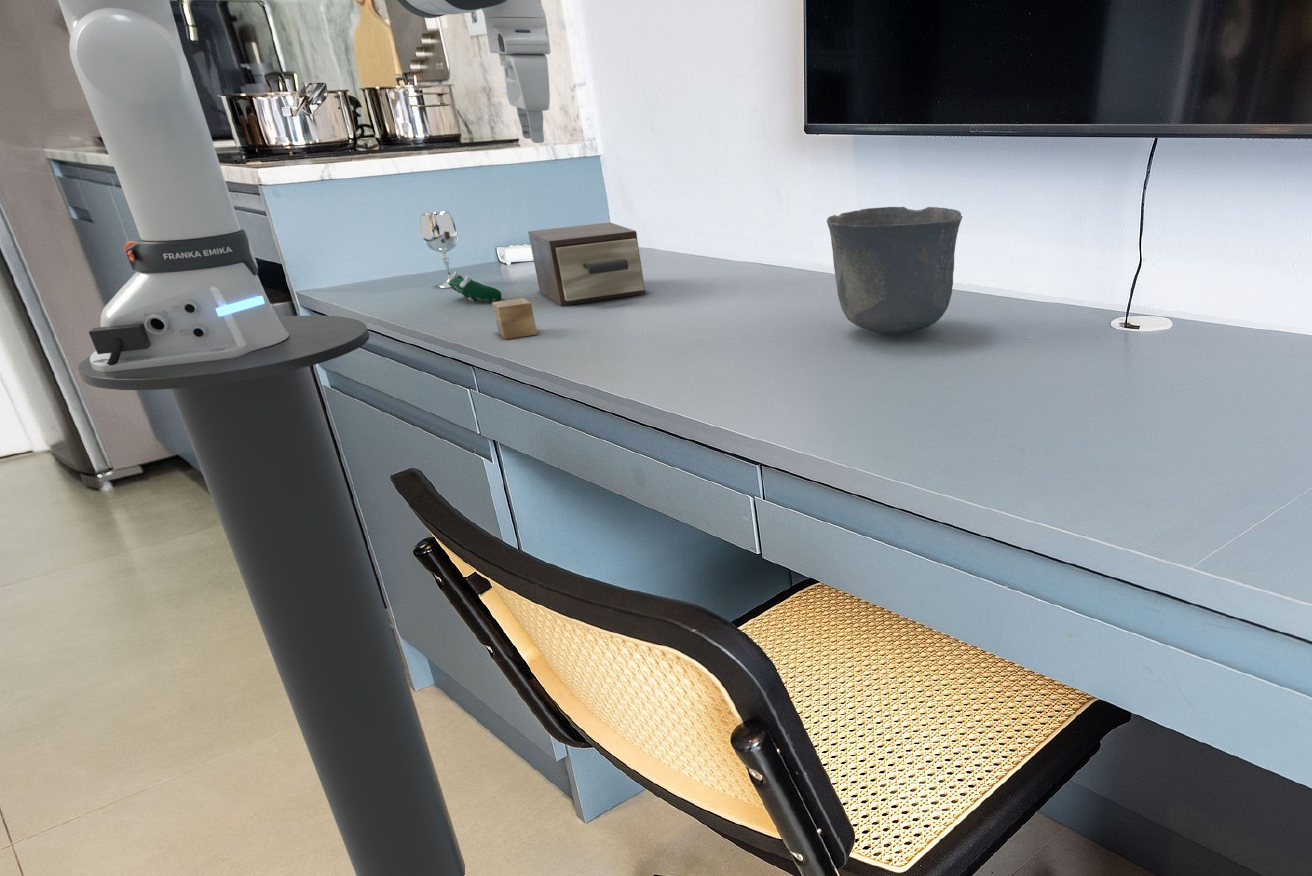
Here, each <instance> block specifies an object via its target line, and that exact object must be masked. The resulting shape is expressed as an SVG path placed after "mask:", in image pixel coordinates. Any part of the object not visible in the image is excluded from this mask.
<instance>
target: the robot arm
mask: <svg viewBox="0 0 1312 876" xmlns="http://www.w3.org/2000/svg"><path fill="white" fill-rule="evenodd" d="M57 2H58V4H59V7H60V10H61V13H62V16H63V19H64V23H65V24H66V28H67V31H68V33H69V36H70V37H69V46H68V47H69V56H70V61H71V63H72V66H73V69H74V72H75V74H76V77H77V79H78V82H79V85H80V87H81V89H82V92H83V94H84V97H85V99H86V102H87V105H88V107H89V109H90V112H91V114H92V118H93V120H94V122H95V125H96V127H97V129H98V130H97V131H98V133H99V134H100V137H101V139H102V142H103V144H104V146H105V149H106V151H107V154H108V156H109V158H110V162H111V163H112V166H113V168H114V170H115V173H116V175H117V178H118V181H119V184H120V186H121V189H122V192H123V194H124V197H125V201H126V202H127V205H128V208H129V210H130V213H131V216H132V219H133V221H134V224H135V227H136V229H137V232H138V234H139V240H137V241H135V240H130V241H128V242H126V243H125V245H124V246H123V251H124V254H125V256H126V257H127V260H128V263H129V265H130V267H131V269H132V271H136V272H135V273H134V274H133V275H132V276H131V277H130V278H129V279H128V280H127V281H126V283H124V284H123V286H122V287H121V288H120V289H119V290H118V291H117V293H115V295H114V296H113V297H112V298H111V299H110V300H109V301H108V303H107V304H106V305H105V306H104V307H103V309H102V311H101V314H100V326H99V327H98V326H97V327H93V328H92V329H91V330H89V331H88V334H89V337H90V339H91V341H92V345H93V347H94V349H95V351H93V353H91V354H90V355H89V357H90V363H91V366H92V368H93V369H94V370H96V371H100V372H112V371H121V370H130V369H140V368H149V367H158V366H167V365H176V364H185V363H194V362H203V361H212V360H221V359H230V358H235V357H239V356H241V355H244V354H246V353H248V352H251V351H254V350H257V349H261V348H264V347H268V346H271V345H274V344H277V343H279V342H281V341H283V340H285V339H287V338H288V337H289V334H288V332H287V331H286V329H285V328H284V326H283V325H282V323H281V322H280V320H279V318H278V317H279V316H278V315H277V313H276V311H275V310H274V307H273V306H272V304H271V302H270V300H269V298H268V296H267V293H266V292H265V289H264V286H263V285H262V283H261V281H260V277H259V275H258V273H259V270H258V269H259V266H258V263H257V259H256V257H255V253H254V249H253V246H252V243H251V241H250V238H248V235H247V233H246V231H245V230H244V229H243V228H241V225H240V223H239V219H238V216H237V213H236V210H235V207H234V204H233V200H232V197H231V194H230V191H229V189H228V185H227V182H226V180H225V175H224V173H223V170H222V167H221V164H220V160H219V157H218V154H217V151H216V148H215V144H214V141H213V138H212V135H211V132H210V128H209V126H208V122H207V120H206V116H205V113H204V110H203V107H202V104H201V101H200V97H199V94H198V91H197V87H196V84H195V81H194V77H193V75H192V72H191V69H190V66H189V63H188V60H187V56H186V54H185V53H184V50H183V45H182V42H181V39H180V34H179V31H178V27H177V24H176V21H175V17H174V13H173V9H172V6H171V2H170V0H57ZM397 2H398V3H399V4H400V5H401V7H403V8H404V9H405V10H407V11H408V12H409V13H411V14H414V15H415V16H418V17H419V18H420V17H421V18H424V19H435V18H440V17H443V16H447V15H460V14H469V13H475V12H476V11H479V10H481V11H482V12H483V17H484V24H485V30H486V36H487V42H488V49H489V53H491V54H498V56H499V62H500V66H503V67H502V68H503V74H504V81H505V89H506V96H507V100H508V103H509V105H510V106H512V107H516V115H517V119H518V122H519V125H520V129H521V135H522V137H523V138H524V139H529V140H531V142H532V143H534V144H542V143H544V142H545V136H544V115H543V114H544V113H543V112H544V111H545V112H546V111H548V110H550V103H551V93H550V75H549V64H548V57H547V55H550V54H551V52H552V51H551V43H550V38H549V31H548V30H549V29H548V23H547V16H546V12H545V10H544V8H543V7H544V6H543V3H542V0H397Z"/></svg>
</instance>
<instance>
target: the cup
mask: <svg viewBox="0 0 1312 876" xmlns="http://www.w3.org/2000/svg"><path fill="white" fill-rule="evenodd" d="M962 219H963V215H962V212H961V211H960V210H958V209H953V208H947V207H937V206H927V207H925V208H922V209H910V208H908V207H905V206H885V207H870V208H863V209H862V208H861V209H859V210H853V211H848V212H847V211H846V212H842V213H840V214H839V215H835V214H833V215H831V216H829V217H827V219H826V224H827V226H828V230H829V235H830V243H831V249H832V250H831V251H832V258H833V269H834V277H835V284H836V290H837V291H836V292H837V298H838V302H839V305H840V309H841V311H842V312H843V314H844V316H845V318H846V320H847V321H849V323H852V325H854V326H856V327H858V328H861V329H863V330H866V331H870V332H874V333H877V334H881V335H890V336H891V335H892V336H894V335H896V336H897V335H906V334H912V333H916V332H919V331H922V330H925V329H927V328H930V327H931V326H933V325H935V324H936V323H937V322H938V321H939V320H940V319H941V318H942V317H943V316H944V314H945V312H947V311H946V310H948V307H949V305H950V301H951V299H952V295H953V287H954V271H955V252H956V244H957V238H958V235H959V234H958V233H959V229H960V225H961V222H962Z"/></svg>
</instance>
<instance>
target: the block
mask: <svg viewBox="0 0 1312 876" xmlns="http://www.w3.org/2000/svg"><path fill="white" fill-rule="evenodd" d="M491 305H492V309H493V313H494V314H493V315H494V319H495V323H496V327H497V332H498V334H499V335H500V336H501V337H502V338H503V339H504V340H511V339H517V338H518V339H519V338H524V337H530V336H535V335H538V331H537V325H536V320H535V316H534V311H533V307H532V303H531V302H530V301H529V300H528V299H526V298H525V297H519V298H513V299H512V298H511V299H506V300H500V301H491Z"/></svg>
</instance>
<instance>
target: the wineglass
mask: <svg viewBox="0 0 1312 876" xmlns="http://www.w3.org/2000/svg"><path fill="white" fill-rule="evenodd" d="M419 216H420V220H419V222H420V233H421V237H422V241H423V243H424V244H425V246H426V247H427V248H428V249H429V250H432V251H434V252H437V253H441V254H442V255H441V257H442V262H443V263H444V266H445V269H446V272H447V280H446V281H445V282H444V283H441V284H439V285H438V288H442V289H448V288H451V286H450V285H449V284H448V283H449V282H448V281H449V279H450V277H451V276H452V274H451V270H450V263H449V262H450V261H449V260H450V259H449V256H448V255H447V253H448V252H450V251H452V250H454V249H455V247H457V246H458V242H459V236H458V235H459V234H458V229H457V227H456V224H455V221H454V219H453V216H452V215H451V213H450V211H433V212H425V213H421V214H420V215H419ZM451 289H452V288H451Z"/></svg>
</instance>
